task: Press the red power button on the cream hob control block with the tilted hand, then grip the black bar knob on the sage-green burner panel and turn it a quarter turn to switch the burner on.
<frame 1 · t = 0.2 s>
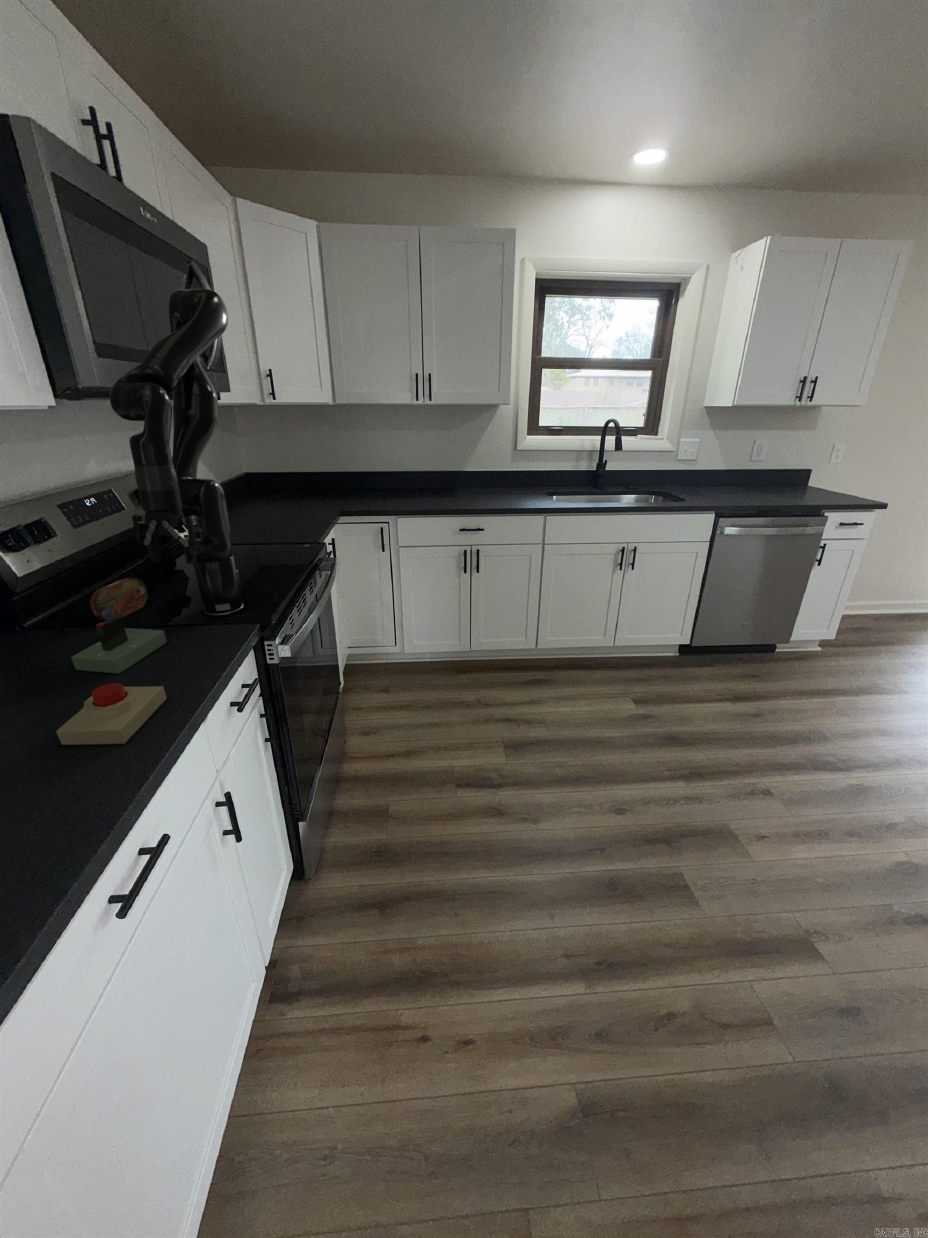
hand: (173, 562, 110), 17 cm above the counter, tool pointing down, fingers open, 8 cm apart
power button: (109, 695, 83), point 5 cm above the counter, slide at 0.1 cm
burner knob: (111, 632, 103), point 6 cm above the counter, hinge at 0.0°
tin: (124, 614, 127), on the counter
burner panel: (123, 655, 106), on the counter
power block: (118, 720, 85), on the counter
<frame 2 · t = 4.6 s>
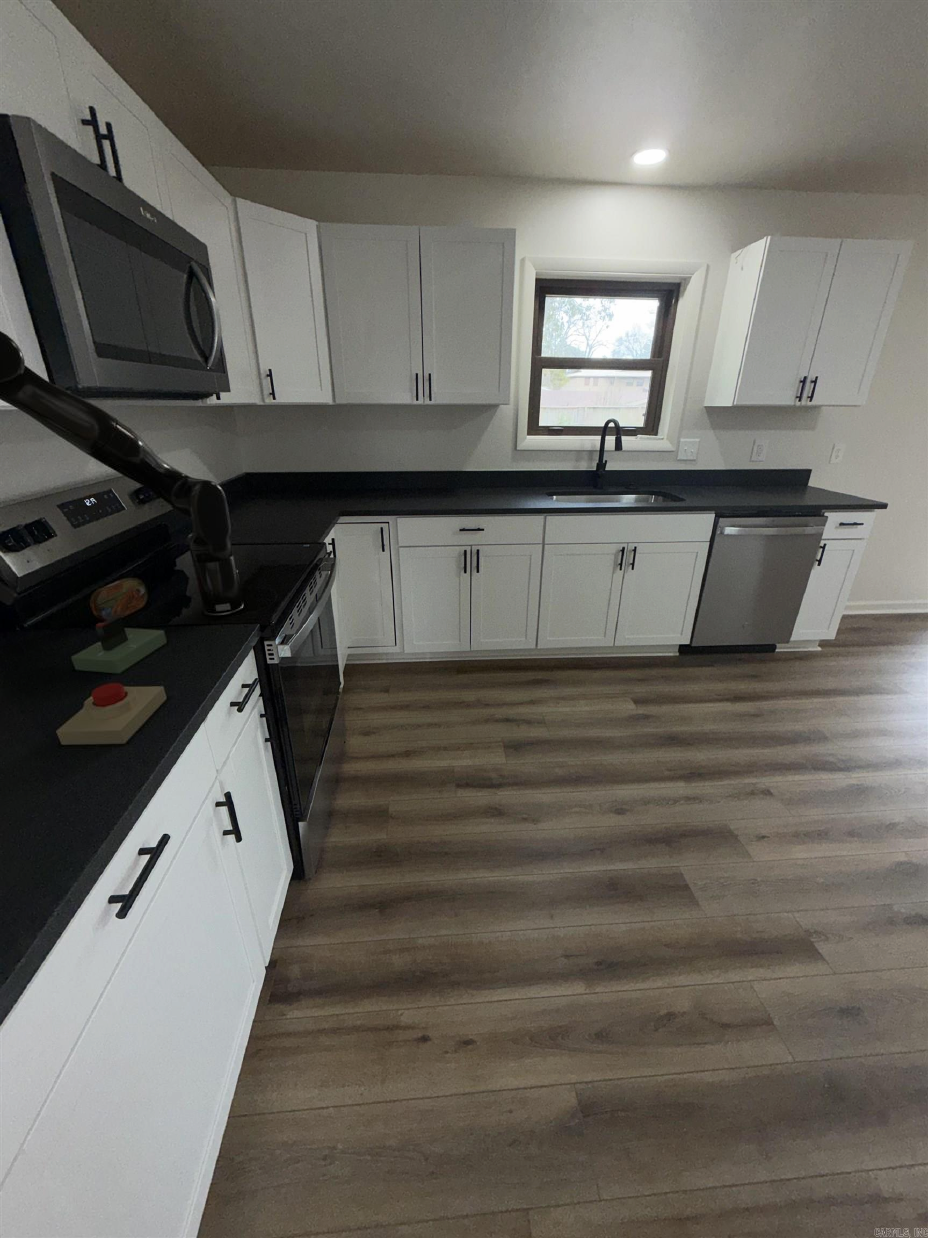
nothing on the counter moved.
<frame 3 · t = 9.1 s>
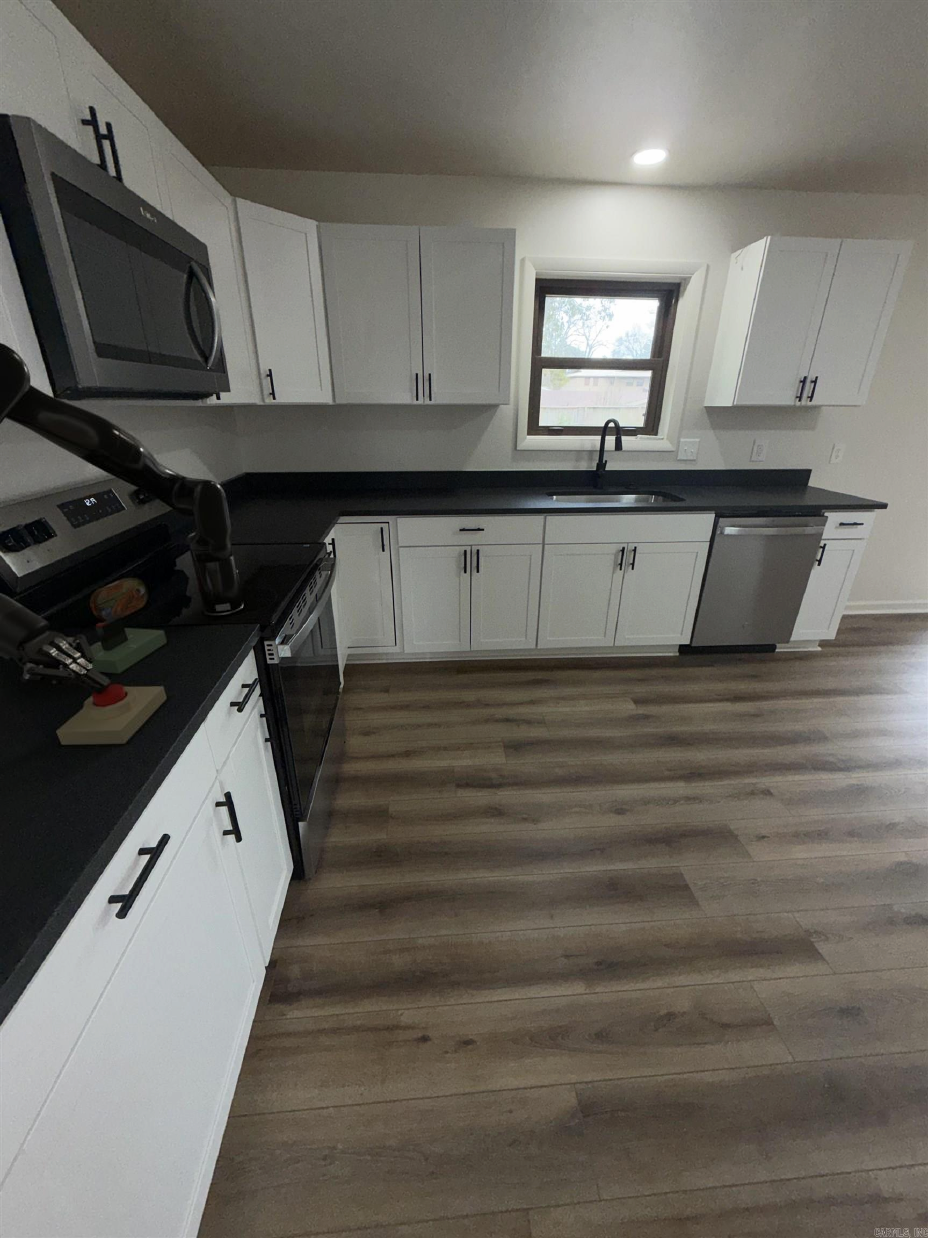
hand: (106, 688, 82), 6 cm above the counter, tool tilted 45°, fingers closed
power button: (109, 696, 83), point 5 cm above the counter, slide at -0.2 cm, touching gripper
everything else where it was.
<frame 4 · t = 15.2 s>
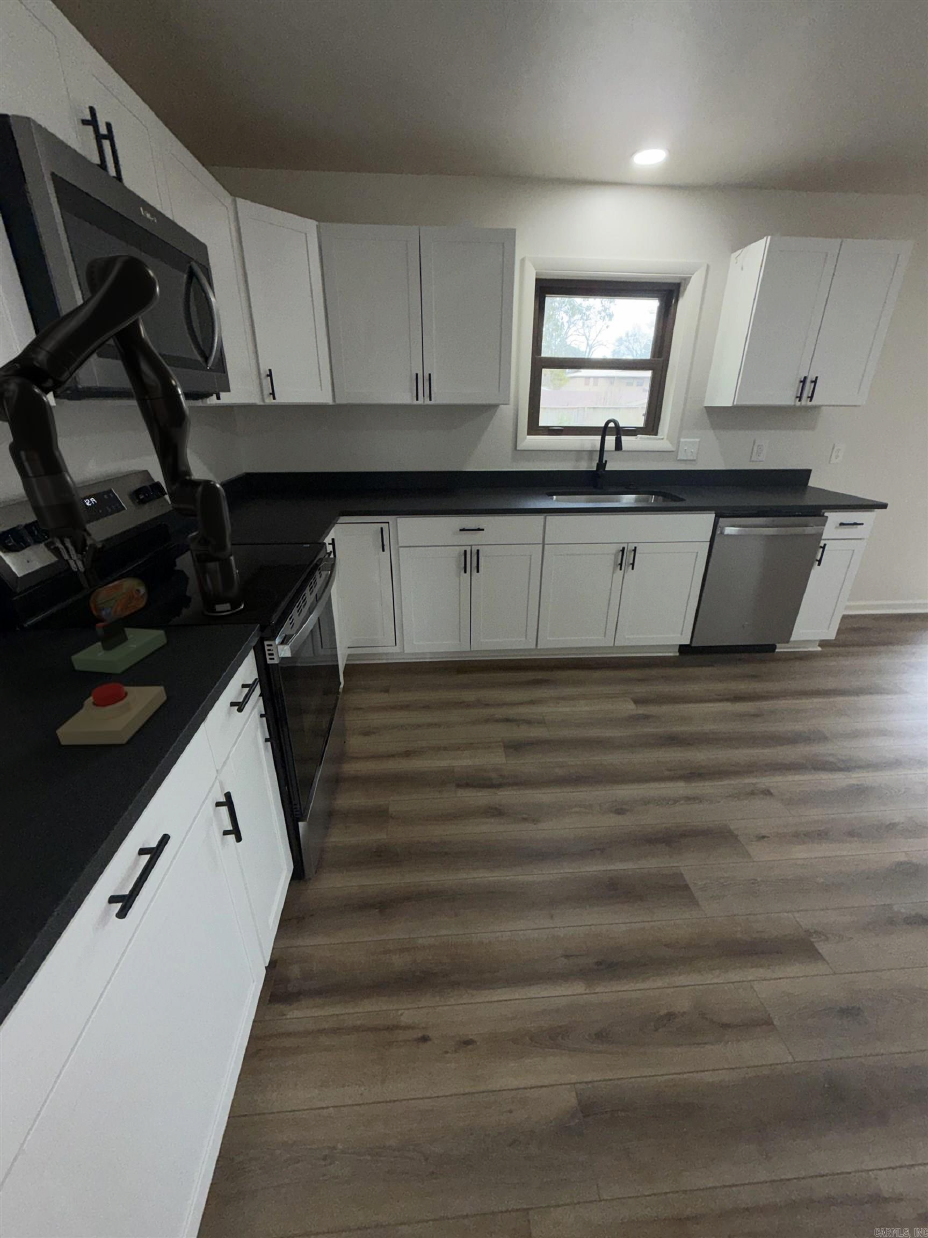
hand: (92, 586, 98), 17 cm above the counter, tool pointing down, fingers closed
power button: (109, 695, 83), point 5 cm above the counter, slide at 0.1 cm
everything else where it was.
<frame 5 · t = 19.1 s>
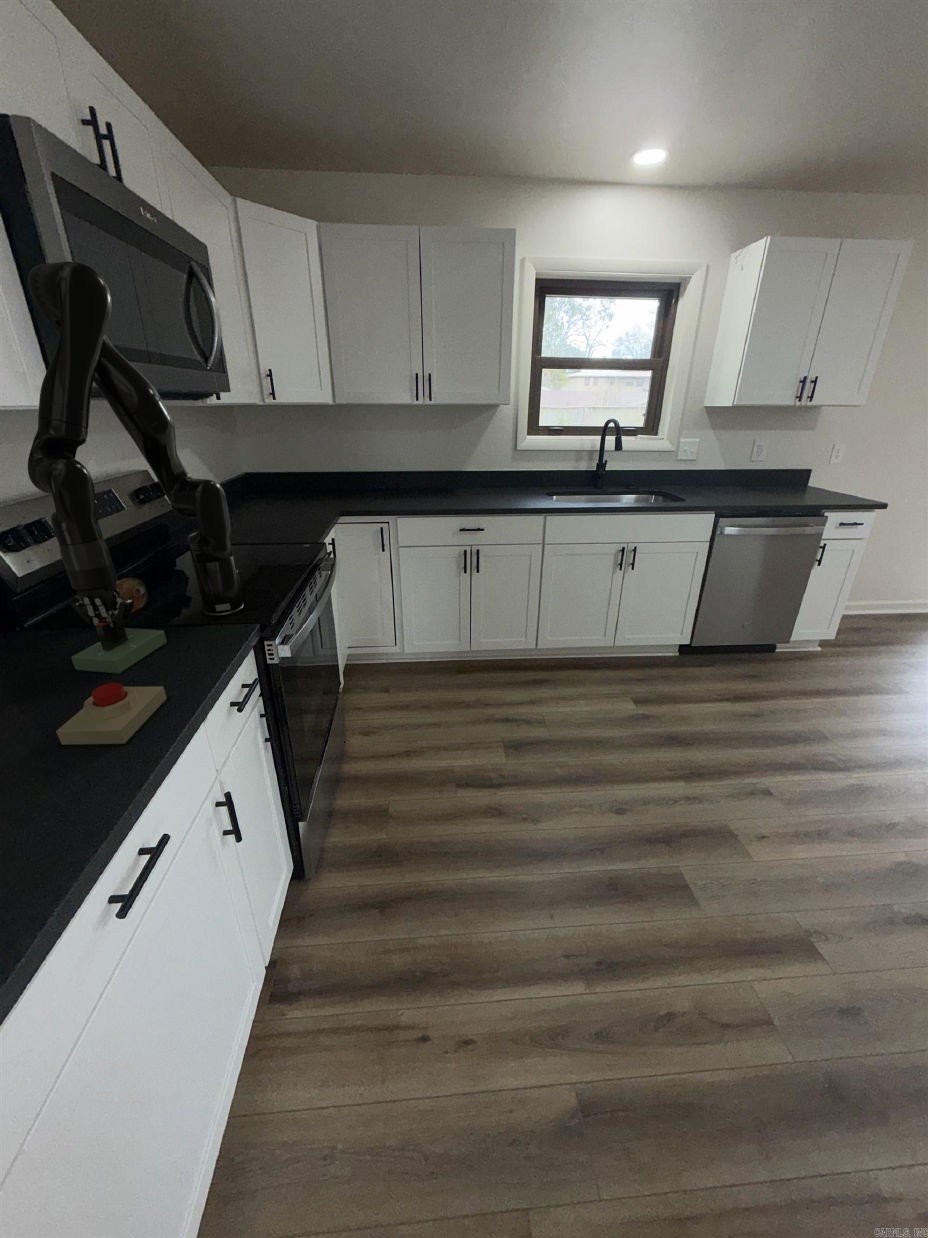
hand: (114, 641, 104), 4 cm above the counter, tool pointing down, fingers closed on burner knob
burner knob: (111, 632, 103), point 6 cm above the counter, hinge at 0.1°, touching gripper
everything else where it was.
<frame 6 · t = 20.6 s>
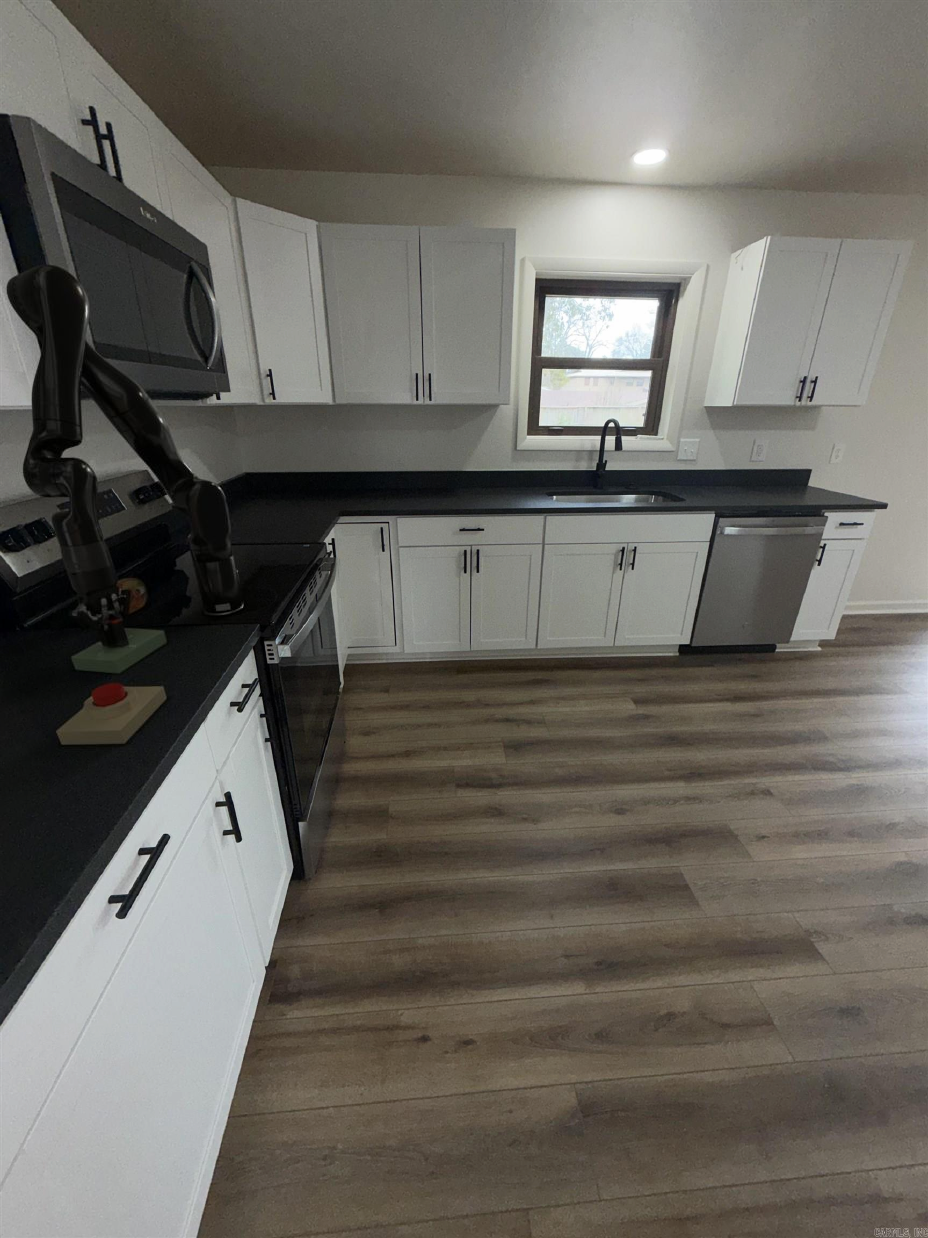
hand: (114, 642, 104), 4 cm above the counter, tool pointing down, fingers closed
burner knob: (111, 632, 103), point 6 cm above the counter, hinge at 90.0°
everything else where it was.
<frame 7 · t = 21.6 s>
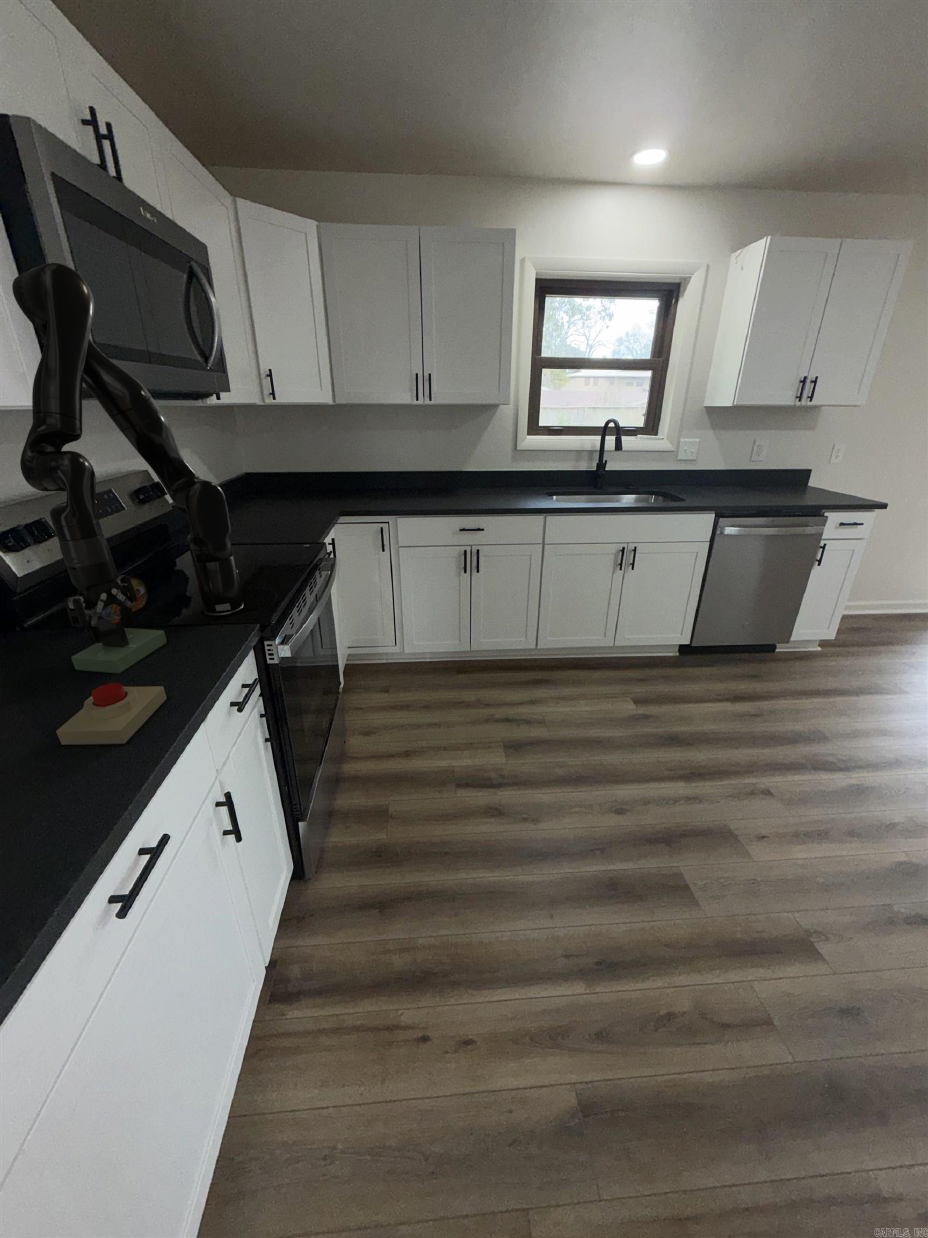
hand: (114, 633, 103), 6 cm above the counter, tool pointing down, fingers open, 8 cm apart
nothing on the counter moved.
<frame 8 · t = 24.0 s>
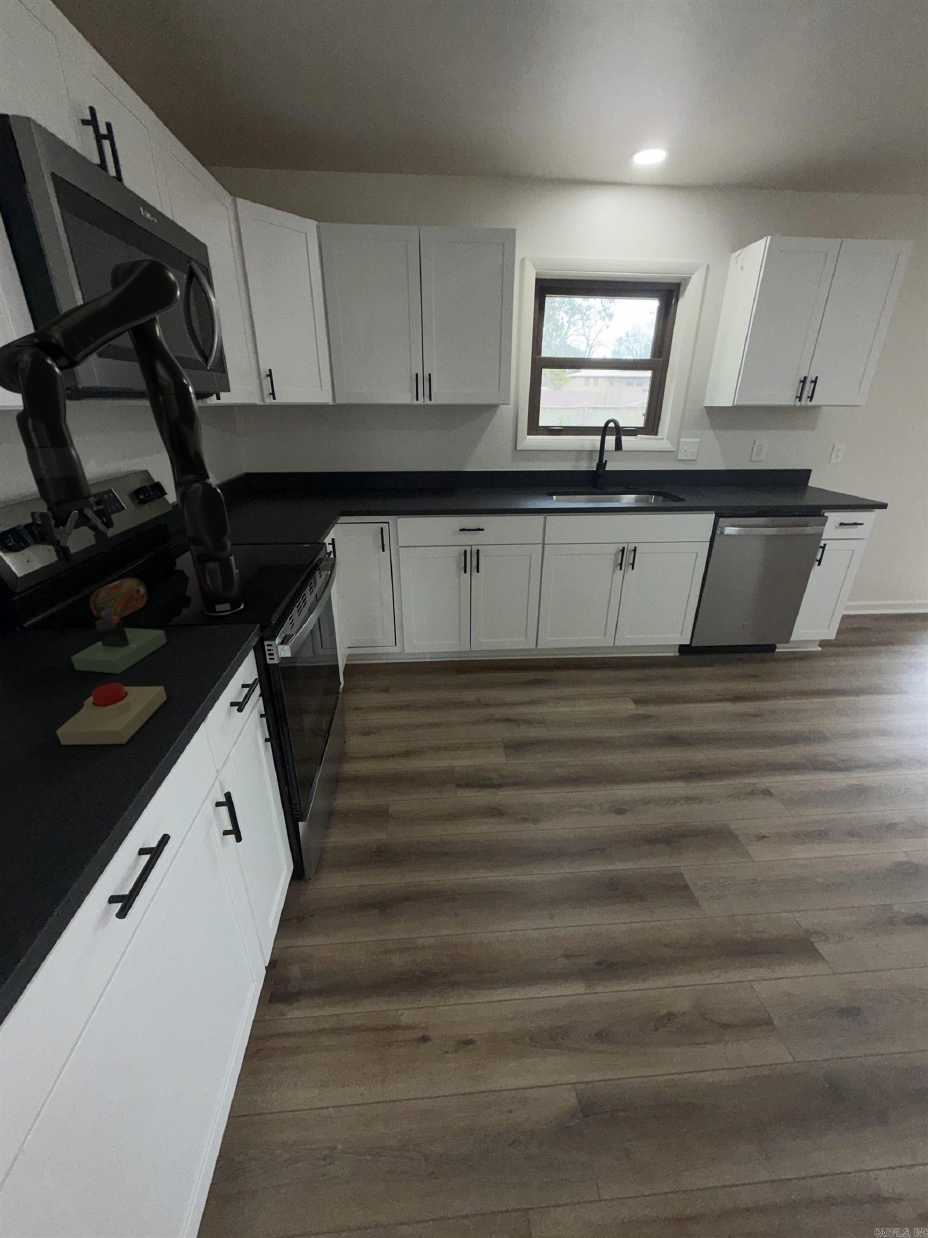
hand: (87, 558, 96), 22 cm above the counter, tool pointing down, fingers open, 8 cm apart
nothing on the counter moved.
at the end: power button pushed in 1.3 cm at the most during the clip, back to where it started at the end; power button slide at 0.1 cm; burner knob at +90° (first picture: +0°) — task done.
